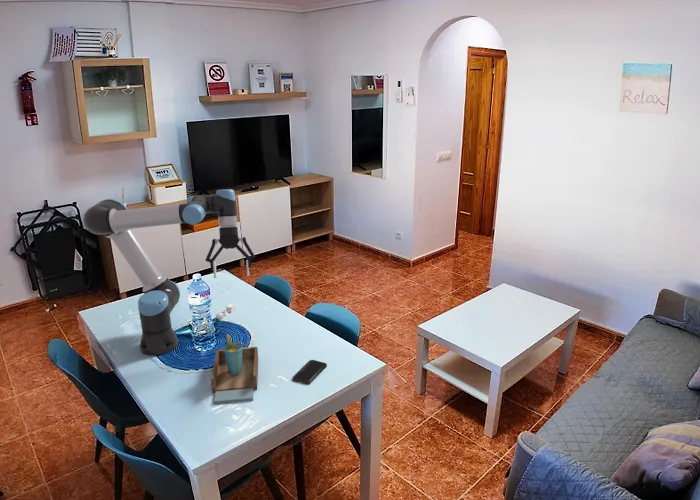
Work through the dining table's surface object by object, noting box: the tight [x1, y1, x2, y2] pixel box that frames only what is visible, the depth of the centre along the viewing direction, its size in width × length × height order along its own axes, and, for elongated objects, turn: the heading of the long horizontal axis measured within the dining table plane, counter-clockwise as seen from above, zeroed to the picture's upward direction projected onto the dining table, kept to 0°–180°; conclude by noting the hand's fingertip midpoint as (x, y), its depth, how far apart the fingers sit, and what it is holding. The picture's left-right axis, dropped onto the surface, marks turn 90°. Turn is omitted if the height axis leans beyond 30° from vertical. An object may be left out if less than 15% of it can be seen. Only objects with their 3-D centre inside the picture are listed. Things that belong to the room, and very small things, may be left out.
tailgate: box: [213, 388, 255, 405], centre depth 182 cm, size 13×1×6 cm
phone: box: [291, 359, 328, 385], centre depth 197 cm, size 8×1×15 cm
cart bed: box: [210, 346, 259, 394], centre depth 195 cm, size 16×21×6 cm
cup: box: [222, 334, 246, 375], centre depth 193 cm, size 14×8×15 cm, turn 45°
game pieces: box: [215, 303, 236, 320], centre depth 245 cm, size 12×3×3 cm, turn 158°
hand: (231, 276), depth 215 cm, fingers open, 13 cm apart
